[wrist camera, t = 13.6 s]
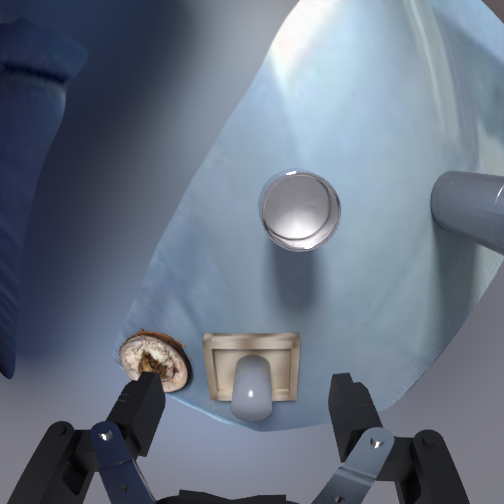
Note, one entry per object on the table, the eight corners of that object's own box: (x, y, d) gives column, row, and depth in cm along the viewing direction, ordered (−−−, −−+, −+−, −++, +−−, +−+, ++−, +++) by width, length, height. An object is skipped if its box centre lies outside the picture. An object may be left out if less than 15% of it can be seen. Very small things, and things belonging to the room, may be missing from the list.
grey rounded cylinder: (271, 354, 43) (273, 395, 35) (269, 381, 45) (271, 421, 36) (235, 353, 43) (230, 394, 35) (235, 380, 45) (231, 420, 36)
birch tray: (298, 332, 43) (300, 341, 41) (294, 390, 46) (296, 400, 44) (205, 333, 44) (202, 341, 41) (212, 390, 47) (210, 400, 45)
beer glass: (308, 225, 39) (335, 259, 24) (256, 218, 39) (252, 249, 24) (316, 172, 37) (349, 176, 22) (262, 165, 37) (263, 162, 22)
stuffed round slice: (205, 394, 48) (201, 409, 44) (129, 387, 48) (122, 401, 44) (193, 323, 44) (187, 337, 40) (108, 320, 44) (97, 332, 40)
